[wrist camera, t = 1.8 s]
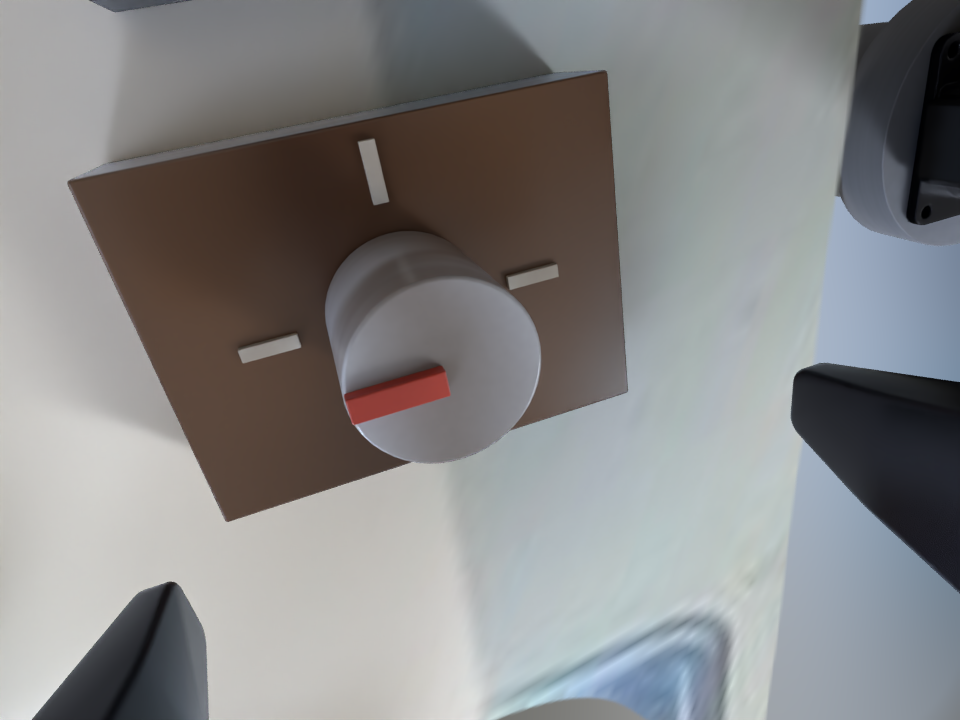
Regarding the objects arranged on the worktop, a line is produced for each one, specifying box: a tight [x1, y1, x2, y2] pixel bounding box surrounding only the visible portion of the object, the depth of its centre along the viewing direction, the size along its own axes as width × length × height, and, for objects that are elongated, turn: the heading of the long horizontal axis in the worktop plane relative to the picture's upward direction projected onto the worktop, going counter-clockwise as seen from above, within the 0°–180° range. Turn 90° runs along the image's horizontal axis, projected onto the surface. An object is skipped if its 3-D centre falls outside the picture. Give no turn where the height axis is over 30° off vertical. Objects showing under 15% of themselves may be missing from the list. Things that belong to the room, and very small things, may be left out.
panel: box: [68, 70, 628, 522], centre depth 16 cm, size 12×9×3 cm
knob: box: [325, 231, 541, 463], centre depth 13 cm, size 4×4×4 cm
